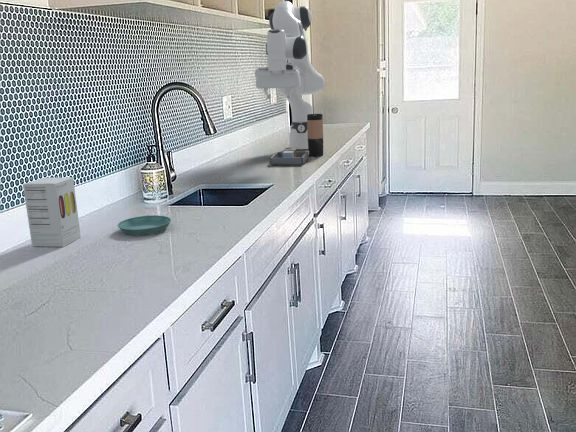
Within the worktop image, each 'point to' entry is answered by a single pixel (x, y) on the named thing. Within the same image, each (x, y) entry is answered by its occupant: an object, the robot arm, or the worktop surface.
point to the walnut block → (292, 150)
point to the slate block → (288, 154)
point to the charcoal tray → (288, 159)
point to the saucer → (144, 225)
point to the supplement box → (52, 211)
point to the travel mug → (315, 134)
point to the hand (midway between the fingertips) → (278, 98)
